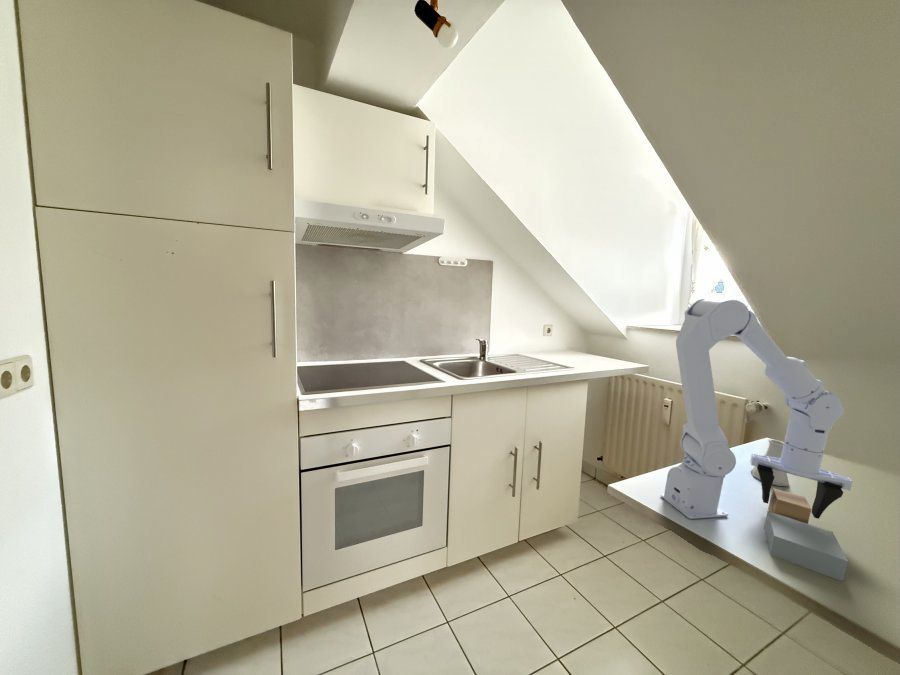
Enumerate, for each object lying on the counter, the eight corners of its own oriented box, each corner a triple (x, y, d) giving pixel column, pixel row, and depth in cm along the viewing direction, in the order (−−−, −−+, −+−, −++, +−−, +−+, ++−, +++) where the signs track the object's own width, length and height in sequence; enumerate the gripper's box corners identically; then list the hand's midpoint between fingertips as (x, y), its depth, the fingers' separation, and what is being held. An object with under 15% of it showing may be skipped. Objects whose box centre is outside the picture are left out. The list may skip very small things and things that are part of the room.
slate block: (842, 583, 58) (848, 561, 58) (769, 555, 63) (774, 535, 63) (827, 551, 66) (832, 531, 65) (763, 529, 71) (767, 511, 70)
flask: (796, 489, 86) (805, 450, 84) (762, 484, 87) (770, 446, 86) (775, 474, 93) (784, 438, 91) (744, 469, 94) (751, 434, 93)
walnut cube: (805, 532, 70) (811, 508, 70) (772, 521, 73) (777, 499, 72) (799, 518, 74) (804, 497, 74) (767, 509, 77) (772, 488, 76)
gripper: (848, 450, 71) (832, 512, 73) (753, 429, 78) (742, 486, 81) (862, 463, 65) (845, 531, 67) (758, 440, 73) (745, 501, 75)
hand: (789, 508), depth 73 cm, fingers open, 7 cm apart
